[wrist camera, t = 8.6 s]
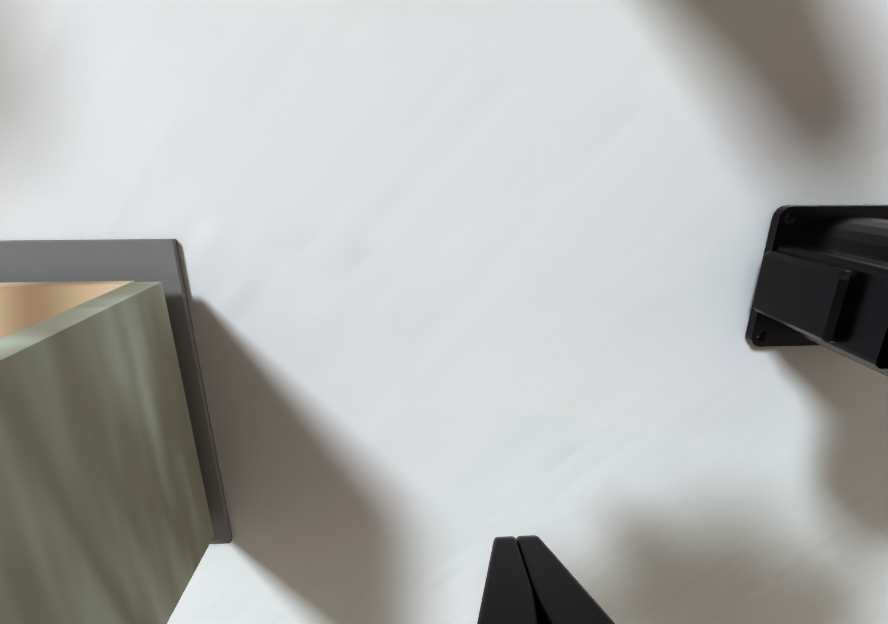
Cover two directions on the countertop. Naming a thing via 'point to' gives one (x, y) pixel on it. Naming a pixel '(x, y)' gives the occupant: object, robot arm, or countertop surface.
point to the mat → (163, 265)
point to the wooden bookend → (94, 457)
